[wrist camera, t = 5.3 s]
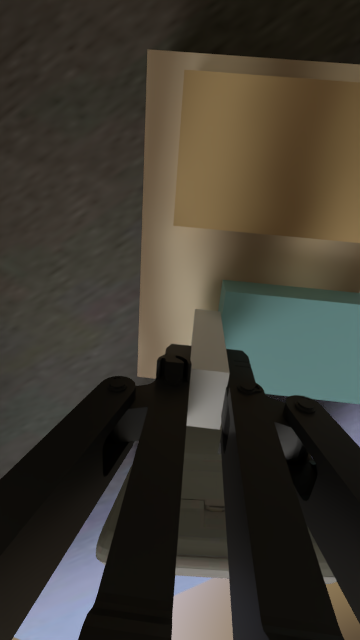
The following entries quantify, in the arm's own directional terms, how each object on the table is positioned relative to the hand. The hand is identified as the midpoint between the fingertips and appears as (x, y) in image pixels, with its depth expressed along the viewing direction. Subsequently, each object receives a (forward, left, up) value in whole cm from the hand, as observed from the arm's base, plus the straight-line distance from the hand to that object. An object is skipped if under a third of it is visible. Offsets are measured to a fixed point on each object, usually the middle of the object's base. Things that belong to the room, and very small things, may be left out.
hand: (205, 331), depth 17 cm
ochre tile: (+2, +9, -1) cm, 9 cm away
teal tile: (+5, 0, -1) cm, 5 cm away
